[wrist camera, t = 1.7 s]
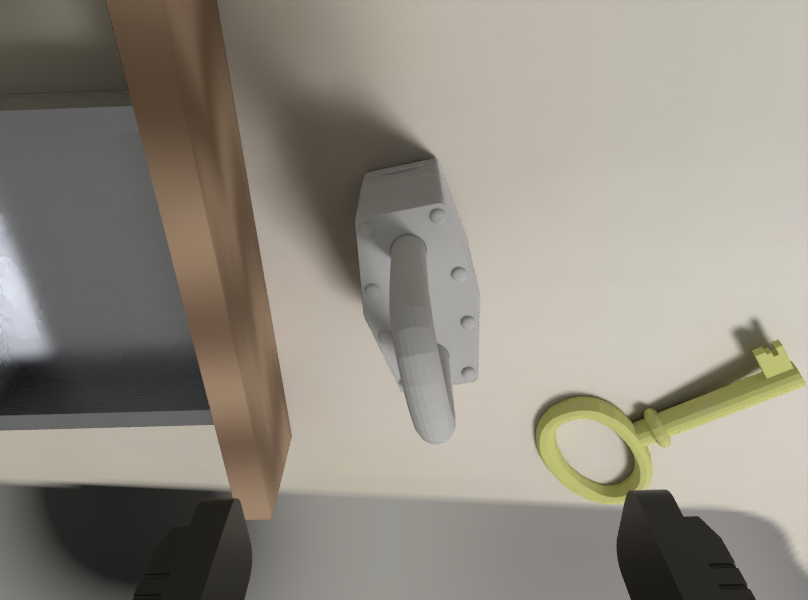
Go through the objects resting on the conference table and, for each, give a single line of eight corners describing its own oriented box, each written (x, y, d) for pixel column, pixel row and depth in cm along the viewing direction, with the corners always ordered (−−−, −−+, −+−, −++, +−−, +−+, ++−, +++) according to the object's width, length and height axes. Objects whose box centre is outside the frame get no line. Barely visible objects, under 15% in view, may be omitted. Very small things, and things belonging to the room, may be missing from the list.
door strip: (169, -25, 19) (100, -23, 15) (211, -27, 19) (154, -25, 15) (263, 437, 29) (238, 519, 25) (291, 436, 29) (271, 519, 25)
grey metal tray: (-112, 99, 21) (-185, 117, 18) (192, 87, 21) (161, 105, 18) (18, 387, 27) (-23, 431, 25) (251, 380, 27) (235, 423, 25)
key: (796, 350, 27) (825, 378, 25) (602, 500, 32) (614, 533, 30) (692, 267, 25) (715, 291, 23) (502, 441, 30) (508, 473, 28)
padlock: (348, 173, 22) (313, 304, 14) (452, 152, 22) (483, 272, 13) (389, 327, 26) (381, 509, 17) (479, 311, 25) (518, 489, 17)
